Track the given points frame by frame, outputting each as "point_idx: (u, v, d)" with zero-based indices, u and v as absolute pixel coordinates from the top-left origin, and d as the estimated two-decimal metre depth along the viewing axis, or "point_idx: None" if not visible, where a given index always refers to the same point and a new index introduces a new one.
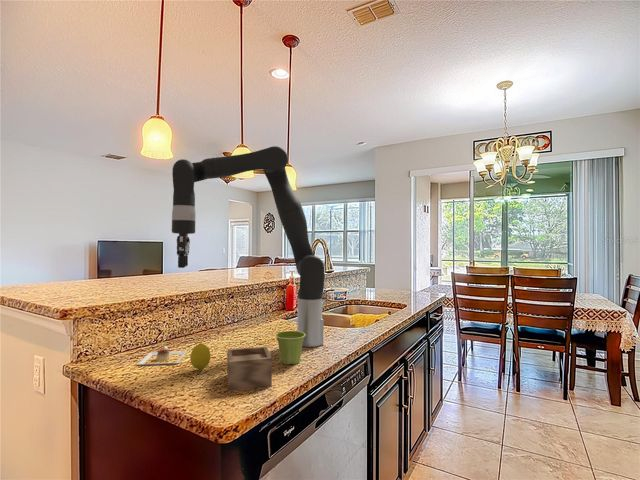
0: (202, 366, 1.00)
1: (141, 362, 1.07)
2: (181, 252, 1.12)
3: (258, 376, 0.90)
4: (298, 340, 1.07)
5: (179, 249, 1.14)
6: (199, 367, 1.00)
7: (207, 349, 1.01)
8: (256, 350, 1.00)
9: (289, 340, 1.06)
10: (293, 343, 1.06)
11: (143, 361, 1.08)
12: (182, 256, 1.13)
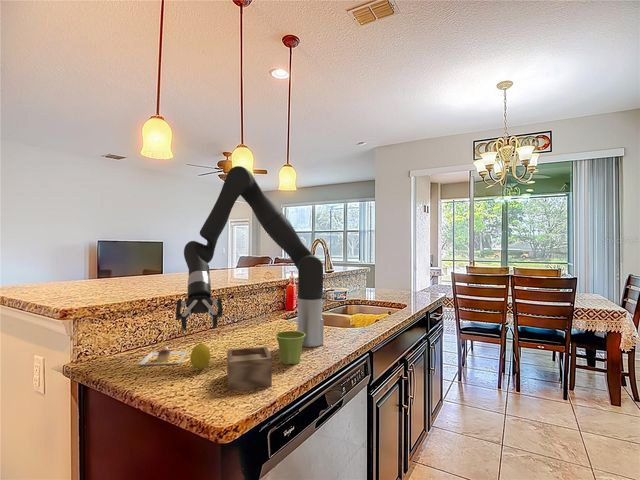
0: (202, 366, 1.00)
1: (142, 362, 1.07)
2: None
3: (258, 376, 0.90)
4: (298, 340, 1.07)
5: None
6: (199, 367, 1.00)
7: (207, 349, 1.01)
8: (256, 350, 1.00)
9: (289, 340, 1.06)
10: (293, 343, 1.06)
11: (144, 361, 1.08)
12: (181, 318, 1.08)
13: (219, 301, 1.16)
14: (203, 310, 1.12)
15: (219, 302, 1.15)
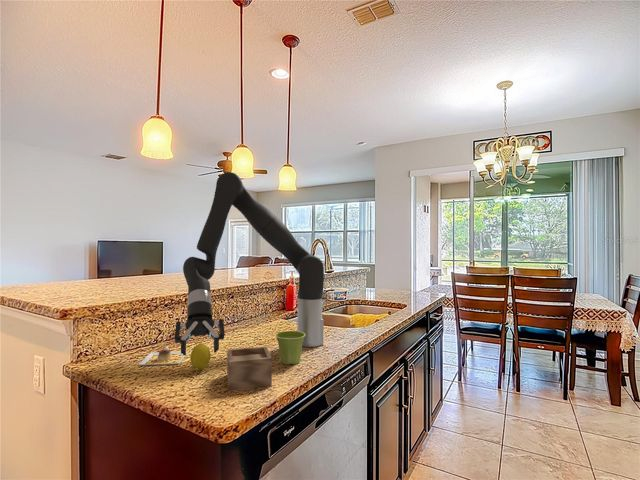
0: (202, 366, 1.00)
1: (142, 362, 1.07)
2: None
3: (258, 376, 0.90)
4: (298, 340, 1.07)
5: None
6: (199, 367, 1.00)
7: (207, 349, 1.01)
8: (256, 350, 1.00)
9: (289, 340, 1.06)
10: (293, 343, 1.06)
11: (144, 361, 1.08)
12: (180, 342, 1.01)
13: (221, 322, 1.09)
14: (204, 332, 1.05)
15: (221, 323, 1.08)
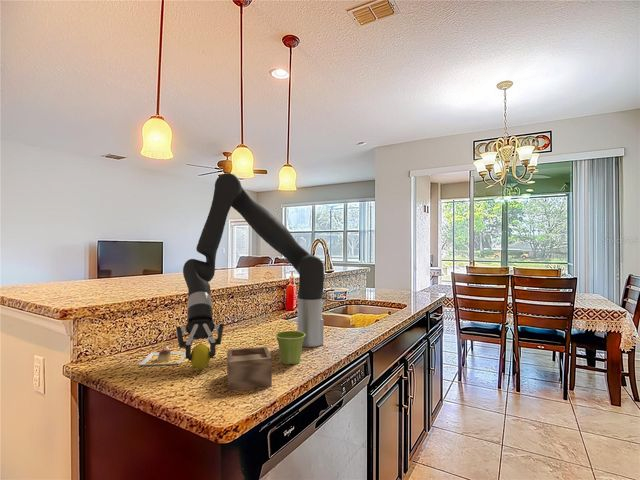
0: (202, 366, 1.00)
1: (142, 362, 1.07)
2: (179, 344, 1.01)
3: (258, 376, 0.90)
4: (298, 340, 1.07)
5: None
6: (199, 367, 1.00)
7: (207, 349, 1.01)
8: (256, 350, 1.00)
9: (289, 340, 1.06)
10: (293, 343, 1.06)
11: (144, 361, 1.08)
12: (185, 347, 1.01)
13: (221, 327, 1.07)
14: (202, 335, 1.04)
15: (220, 328, 1.07)
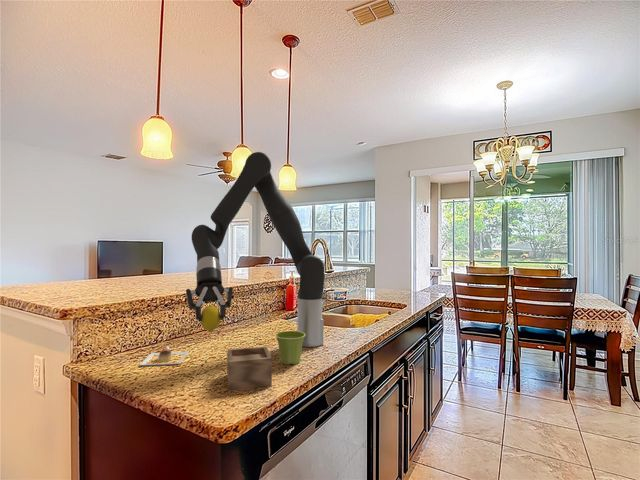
0: (212, 327, 0.99)
1: (143, 363, 1.07)
2: (189, 305, 1.00)
3: (258, 376, 0.90)
4: (298, 340, 1.07)
5: None
6: (209, 328, 0.99)
7: (217, 310, 1.00)
8: (256, 350, 1.00)
9: (289, 340, 1.06)
10: (293, 343, 1.06)
11: (145, 362, 1.08)
12: (195, 308, 1.00)
13: (230, 290, 1.06)
14: (212, 298, 1.04)
15: (230, 291, 1.06)
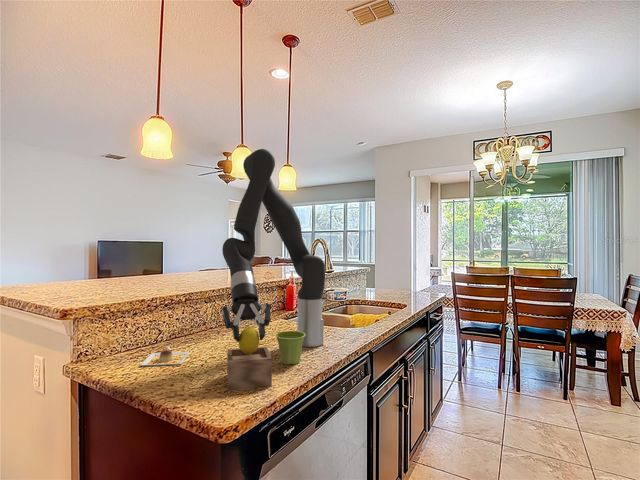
0: (251, 351, 0.93)
1: (144, 363, 1.06)
2: (226, 324, 0.94)
3: (258, 376, 0.90)
4: (298, 340, 1.07)
5: None
6: (248, 352, 0.93)
7: (256, 333, 0.95)
8: (256, 350, 1.00)
9: (289, 340, 1.06)
10: (293, 343, 1.06)
11: (146, 362, 1.08)
12: (232, 327, 0.94)
13: (268, 307, 1.01)
14: (249, 316, 0.98)
15: (268, 308, 1.00)
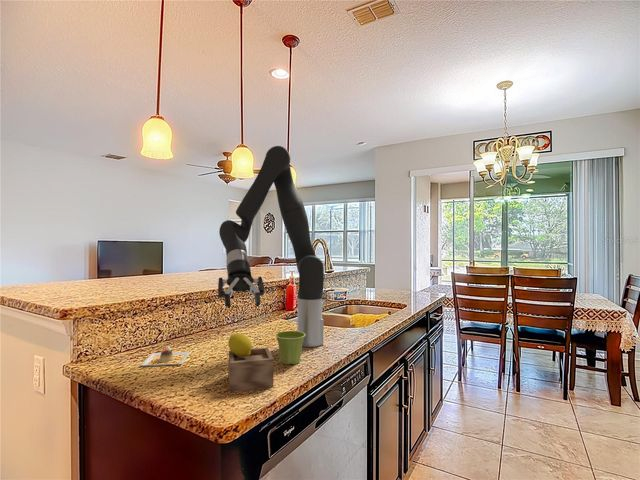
0: (245, 347, 0.94)
1: (144, 363, 1.06)
2: (218, 293, 1.06)
3: (259, 377, 0.90)
4: (298, 340, 1.07)
5: None
6: (243, 350, 0.93)
7: (239, 333, 0.97)
8: (258, 351, 0.99)
9: (289, 340, 1.06)
10: (293, 343, 1.06)
11: (146, 362, 1.07)
12: (224, 296, 1.06)
13: (260, 279, 1.13)
14: (245, 288, 1.10)
15: (260, 280, 1.13)
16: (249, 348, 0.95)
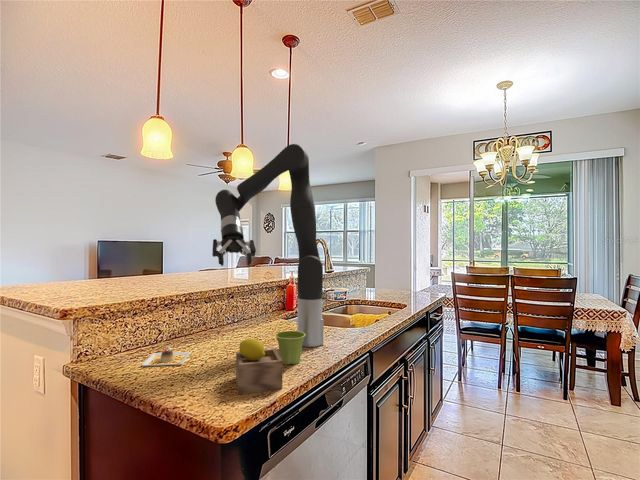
0: (258, 347, 0.92)
1: (145, 363, 1.06)
2: None
3: (268, 379, 0.88)
4: (298, 340, 1.07)
5: None
6: (257, 350, 0.92)
7: (248, 338, 0.95)
8: (266, 353, 0.98)
9: (289, 340, 1.06)
10: (293, 343, 1.06)
11: (147, 362, 1.07)
12: (218, 255, 1.15)
13: (252, 242, 1.22)
14: (237, 249, 1.18)
15: (252, 243, 1.21)
16: (262, 348, 0.93)
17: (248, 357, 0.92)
